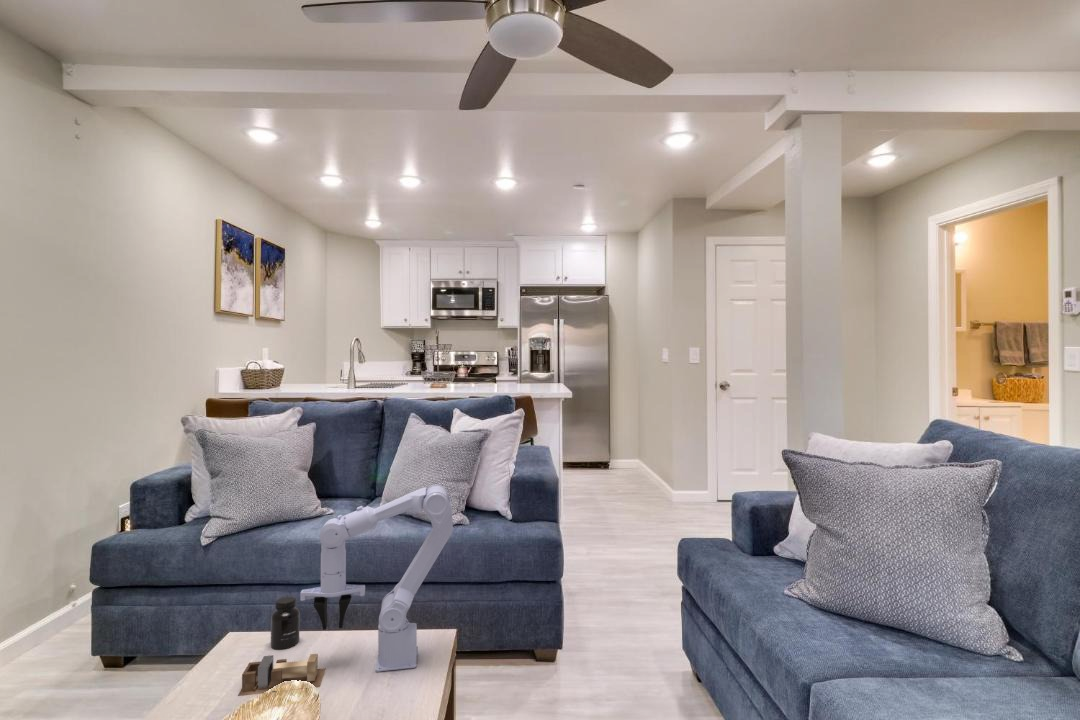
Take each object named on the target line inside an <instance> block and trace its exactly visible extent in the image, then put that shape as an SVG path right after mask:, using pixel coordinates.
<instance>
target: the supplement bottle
mask: <svg viewBox="0 0 1080 720" xmlns="http://www.w3.org/2000/svg"><path fill="white" fill-rule="evenodd" d="M274 608H275V609H274V611H273V612H272V614H271V617H270V648H271V650H275V651H283V650H289V649H291V648H294V647H296V646H297V645H299V643H300V624H301V623H300V621H301V620H300V618H301V617H300V615H301V614H300V613H301V612H300V610H299V608H297V600H296V597H295V596H284V597H280V598H278V599H276V601H275V606H274Z"/></svg>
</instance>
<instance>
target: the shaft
mask: <svg viewBox="0 0 1080 720" xmlns="http://www.w3.org/2000/svg"><path fill="white" fill-rule="evenodd" d="M318 654H319V653H311V654H309V657H308V659H307V660H306V659H304V660H297V661H295V660H294V661H289V662H288V661H287V662H284V663H276V662H275V664H274V665H273V669H281V668H282V679H283V678H292V677H302V676H307V682H309V681H315V679H316V676H317V673H318V669H319V664H318V663H319V659H318V658H319V655H318Z"/></svg>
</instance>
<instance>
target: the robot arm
mask: <svg viewBox="0 0 1080 720" xmlns="http://www.w3.org/2000/svg"><path fill="white" fill-rule="evenodd" d="M422 509H423V510H424V512H425V515H427V517H428V519H430V522H431V527H432V528H431V529H430V531H429V533H428V534H427V536H426V538H425V540H424V541H423V542H422V545H421V546H420V548H419V550H418V551H417V553H416V554H415V556H414V557H413V559H412V561H411V562H410V564H409V566H408V568H407V569H406V571H405V573H404V574H403V576H402V578H401V579H400V581H399V582H398V583H397V584H395V586H394V588H392V590H391V591H390V592H388V593H387V594H386V595H385V596H384V597H383V598H382V601H381V609H380V612H379V616H378V626H377V628H378V630H377V631H378V632H377V633H378V635H377V636H378V638H377V644H378V646H377V652H378V653H377V657H376V663H375V669H374V671H375V672H377V673H378V672H385V671H386V672H387V671H395V670H396V671H397V670H405V669H413V668H417V656H418V655H419V647H418V646H417V644H418V643H417V642H418V640H417V638H418V636H417V634H418V633H417V632H418V631H417V630H418V629H417V628H418V627H417V623H415V622H410V621H409V619H407V613H408V611H409V609H410V608H411V606H412V603H413V600H414V598H415V596H416V594H417V593H418V591H419V588H420V587H421V585H422V584H423V582H424V580H425V579H426V577H427V575H428V573H429V572H430V570H431V569H432V567H433V565H434V564H435V562H436V560H437V559H438V557H439V555H440V554H441V552H442V550H443V549H444V547H445V545H446V543H447V542H448V541H449V539H450V537H451V536H452V534H453V532H454V524H453V523H454V522H453V506H452V500H451V498H450V496H449V493H448V490H447V489H446V487H445V486H443V485H441V484H438V483H437V484H431V485H429V486H428V487H420V488H419V489H417V490H414V491H411V492H409V493H407V494H405V495H402V496H400V497H397V498H396V499H393V500H390V501H389V502H387V503H384V504H382V505H380V506H378V507H376V508H374V507H371V506H369V505H366V506H363V505H360V506H358V507H356V510H355V511H352V512H349V513H347V514H345V515H343V514H339V515H337V517H335V518H330V519H328V520H327V521H326V522H325V523H324V525H323V526H322V527H321V529H320V531H319V534H318V539H319V542H320V544H321V545H320V547H321V552H320V586H318V587H312V588H305V589H301V591H300V592H299V593H300V594H299V595H300V599H299V601H301V602H302V601H303V602H304V601H306V600H314V601H313V603H312V604H313V607H314V609H315V610H316V613H317V614H318V617H319V619H320V623H321V626H322V630H323V631H324V630H325V631H326V630H327V627H328V599H329V598H338V597H339V600H338V606H339V607H338V609H339V618H338V620H339V621H338V629H343V626H344V621H345V616H346V612H347V610H348V607H349V604H350V603H351V601H352V600H351V599H352V597H353V596H360V597H364V596H365V594H366V585H365V584H347V550H346V540H348V539H349V540H350V539H353V538H355V537H358V536H360V535H362V534H365V533H367V532H370V531H372V530H375V529H376V528H377V526H378V524H379V522H381V521H384V520H386V519H389V518H392V517H395V516H398V515H400V514H404V513H406V512H409V511H411V512H414V513H418V514H422V513H423V512H422V511H423V510H422Z"/></svg>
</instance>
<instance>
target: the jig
mask: <svg viewBox="0 0 1080 720" xmlns="http://www.w3.org/2000/svg"><path fill="white" fill-rule="evenodd" d="M284 662H288V661H287V658H284V659H283V658H281V659H277V660H276V662H275V664H276V663H284ZM260 663H261V661H252V662H249V663H248V664H247V666H246V667H245V669H244V671H243V672H242V675H241V689H240V690H239V692H238V694H237V697H243V696H251V695H259V694H260V695H261V694H265V693H264V692H266V691H268V690H269V689H271V688H273V687H274V686H276V685H278V684H280V683H282V682H284V681H291V680H297V681H299V680H301V681H307V676H302V677H292V678H283V679H282V668H281V669H272V671H271V683H270V685H269V687H268V689H263V690H258V666H259V665H260ZM326 670H327V667H324V668H318V673H317V676H316V679H315V681H309V682H310V683H311V684H313V685H314V686H315V687H316V688H320V687H321V685H322V682H323V680H324V675H325V673H326Z"/></svg>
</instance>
